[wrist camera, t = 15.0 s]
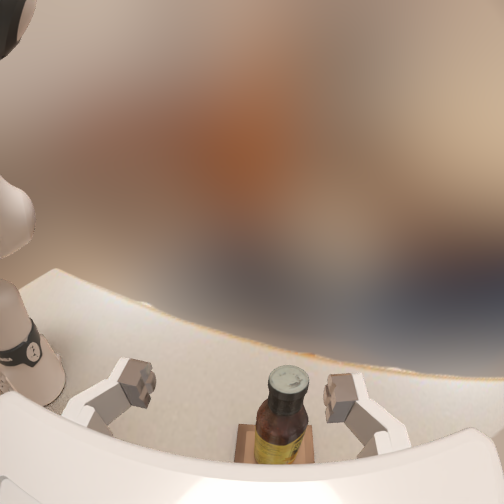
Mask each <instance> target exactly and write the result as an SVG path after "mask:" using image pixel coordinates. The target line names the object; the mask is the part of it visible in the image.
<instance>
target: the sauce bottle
mask: <svg viewBox="0 0 504 504" xmlns="http://www.w3.org/2000/svg"><path fill="white" fill-rule="evenodd" d="M308 385H309V377H308V375H307V373H306V372H305V371H304V370H302V369H300V368H299V367H296V366H292V365H284V366H280V367H278V368H276V369H274V370H273V371H272V372H271V373H270V376H269V380H268V388H269V396H268V399H266V400H265V401H264V402H263V403H262V405H261V406H260V407H259V409H258V412H257V417H256V418H257V421H256V425H255V444H254V456H255V460H256V462H257V464H292V463H293V462H294V461H295V459H296V456H297V454H298V451H299V448H300V446H301V443H302V440H303V437H304V434H305V431H306V428H307V425H308V415H307V413H306V410H305V408H304V405H303V399H304V396H305V394H306V393H307V390H308Z"/></svg>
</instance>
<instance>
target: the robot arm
mask: <svg viewBox="0 0 504 504" xmlns="http://www.w3.org/2000/svg"><path fill="white" fill-rule="evenodd" d="M36 2H37V0H0V60H1V59H3V58H4V57H6V56H7V55H8V54H9V53H10V52H11V51H12V50H13V49H14V48H15V47H16V45H17V44H18V43H19V41H20V39H21V37H22V35H23V34H24V32H25V30H26V29H27V27H28V25H29V23H30V21H31V19H32V17H33V14H34V11H35V7H36ZM35 223H36V217H35V210H34V207H33V204H32V202H31V200H30V198H29V197H28V195H27V194H26V193H25V192H24V191H22V190H21V189H19V188H17V187H14V186H12V185H11V184H9V183H8V182H7V181H5V180H4V179H3V178H2V177H1V175H0V259H2V258H4V257H6V256H8V255H11V254H12V253H14V252H16V251H17V250H19V249H20V248H22V247H23V246H24V245H26V244H27V243H29V242H30V241H31V239H32V236H33V234H34V230H35ZM151 370H152V365H151V363H149V362H144V361H140V360H135V359H131V358H126V357H121V358H120V359H119V360H118V362H117V364H116V365H115V367H114V369H113V371H112V372H111V374H110V376H109V378H108V379H104V380H102V381H101V382H99V383H97V384H95V385H93V386H92V387H90V388H88V389H86V390H85V391H83V392H81V393H79V394H77V395H76V396H74V397H72V398H71V399H70V401H69V402H68V404H67V406H66V407H65V409H64V411H63V413H62V414H61V416H60V415H58V414H56V413H54V412H52V411H50V410H48V409H46V408H44V407H43V406H45V405H47V404H49V403H51V402H52V401H53V400H55V399H56V398H57V397H58V396H59V394H60V393H61V391H62V390H63V387H64V385H65V379H66V377H65V372H64V369H63V367H62V365H61V356H60V355H59V354H58V353H54V352H53V350H52V348H51V347H50V345H49V344H48V342H47V340H46V339H45V337H44V336H43V335H42V334H39V332H38V330H37V327H36V325H35V324H34V322H33V320H32V319H31V318H30V317H29V315H28V313H27V311H26V308H25V306H24V303H23V301H22V298H21V296H20V293H19V291H18V289H17V288H16V286H15V285H14V284H12V283H11V282H9V281H7V280H5V279H0V390H1V391H2V392H3V393H4V394H1V395H0V504H504V474H503V470H502V467H501V463H500V459H499V456H498V453H497V450H496V447H495V444H494V442H493V441H492V439H491V438H490V437H488V436H487V435H485V434H484V433H482V432H481V431H479V430H477V429H475V428H473V427H469V428H465V429H463V430H460V431H458V432H455V433H453V434H450V435H448V436H445V437H442V438H439V439H436V440H433V441H430V442H427V443H424V444H420V445H417V446H413V447H411V443H410V440H409V437H408V433H407V430H406V427H405V425H404V424H402V423H401V422H400V421H399V420H397V419H396V418H395V417H394V416H392V415H391V414H390V413H389V412H388V411H386V410H385V409H384V408H383V407H382V406H380V405H379V404H378V403H377V402H376V401H374V400H373V399H370V398H369V395H368V391H367V388H366V385H365V381H364V378H363V375H362V373H346V374H331V375H329V376H328V379H327V382H328V384H327V385H325V388H324V394H323V400H324V405H325V406H326V407H327V408H326V411H325V415H326V422H327V423H340V422H344V423H345V425H346V426H347V427H348V428H349V429H350V430H351V432H352V433H353V434H354V435H355V436H356V437H357V438H358V440H359V441H360V442H361V443H362V444H363V445H364V446H365V447H364V448H363V449H362V451H361V452H360V453H359V454H358V455H357V459H351V460H344V461H335V462H325V463H312V464H248V463H235V462H224V461H216V460H208V459H201V458H195V457H189V456H184V455H178V454H173V453H169V452H164V451H160V450H156V449H152V448H148V447H144V446H140V445H137V444H133V443H130V442H127V441H124V440H121V439H117V438H114V437H112V436H113V434H112V432H111V431H110V429H109V428H108V427H107V425H109V424H110V423H111V422H112V421H114V420H115V419H116V418H117V417H119V416H120V415H121V414H122V413H124V412H125V411H126V410H127V409H129V408H130V407H131V405H132V406H136V407H141V408H146V409H147V407H148V404H149V402H150V399H151V398H150V395H149V394H151V393H152V392H154V389H155V386H156V377H155V374H154V373H153V372H152V371H151Z"/></svg>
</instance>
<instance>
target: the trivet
mask: <svg viewBox="0 0 504 504" xmlns="http://www.w3.org/2000/svg"><path fill="white" fill-rule="evenodd" d="M254 444H255V425H247V424H239V426H238V434H237V443H236V451H235V460H234V462H235V463H248V464H257V462H256V460H255V456H254ZM312 463H315V462H314V448H313V436H312V425H307V428H306V431H305V434H304V437H303V440H302V443H301V446H300V448H299V451H298V454H297V456H296V459H295V461H294V462H293V463H292V464H312Z"/></svg>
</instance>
